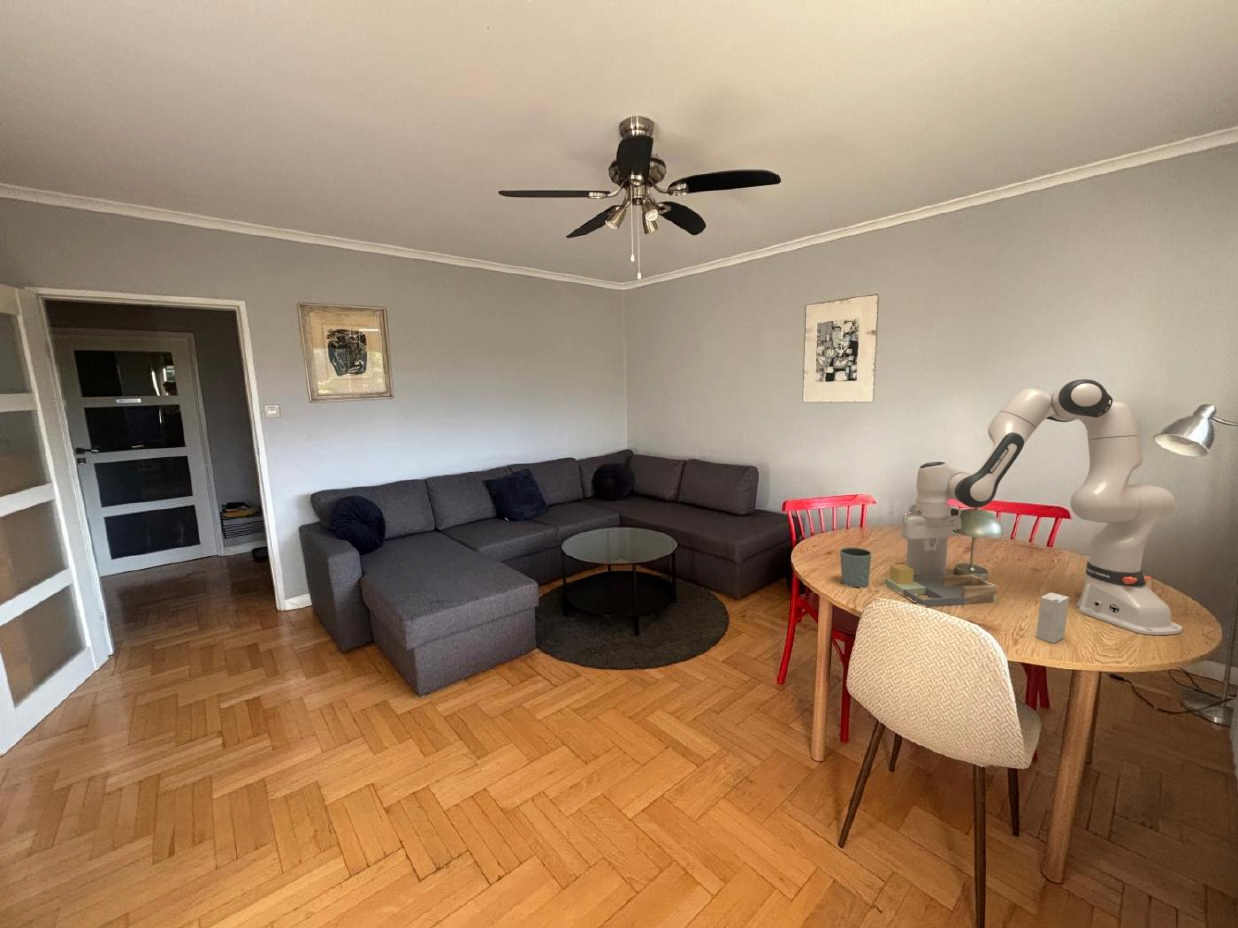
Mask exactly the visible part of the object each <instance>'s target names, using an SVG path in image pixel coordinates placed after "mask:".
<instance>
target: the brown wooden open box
mask: <svg viewBox="0 0 1238 928" xmlns="http://www.w3.org/2000/svg"><path fill="white" fill-rule="evenodd" d="M971 584H972V585H974V586H963V587H962V593H961V596H963V597H965V601H966V600H967V599H969V598H970V599H971V600H967V601H966V602H967V604H966V602H965V604H964V605H972V604H973V603H974V604H975V605H977V604H987V603H988V604H989V603H997V598H998V585H996V584H994V583H991V582H989V581H988V580H985V579H983V578H980V577H978V576H976V575H975V574H970V573H968V574H958V575H957V574H954V575H953V576H943V578H942V585H944V586H957V585H971ZM979 596H980V597H979ZM984 596H985V597H984ZM988 596H989V597H988ZM991 596H992V597H991ZM974 597H975V598H974ZM977 598H978V599H979V600H978V599H977ZM982 598H983V600H982ZM985 598H986V599H987V598H989V600H988V599H987V600H988V601H989V602H988V601H987V600H985ZM995 598H996V599H995ZM974 599H976V600H975V601H976V602H973V601H974ZM980 599H981V601H982V602H981V601H980ZM990 599H991V600H990ZM993 599H994V600H993ZM972 600H973V601H972ZM992 600H993V601H992ZM985 602H986V603H985Z"/></svg>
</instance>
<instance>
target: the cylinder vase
mask: <svg viewBox="0 0 1238 928" xmlns="http://www.w3.org/2000/svg"><path fill="white" fill-rule="evenodd" d="M908 508H909V511H908V512H915V511H916V503H914V504H911V505H909V507H908ZM948 539H949V537H943V538H940V540H939V542H938V544H937V546H936V551H925V550H924V544H923V542H922V541H921V539H917V540H907V545H906V546H907V547H906V562H905V563H906V564H905V565H906V566H908V567H910V568H912V569H914V571H913V576H926V575H940V574H946V569H947V567H946V566H947V554H948V553H947V552H948ZM931 542H932V540H931V538H930V541H929V542H928V543H929V545H930V544H931Z"/></svg>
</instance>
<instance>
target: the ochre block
mask: <svg viewBox="0 0 1238 928" xmlns="http://www.w3.org/2000/svg"><path fill="white" fill-rule="evenodd" d="M889 570H890V571H889V578H890V579H891V580H893V581H895V582H896V583H898V584H908V583H913V576H914V575H913V571H914V569H912V568H910V567H908V566H906V564H905V563H903V564H891V565H890V569H889Z"/></svg>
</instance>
